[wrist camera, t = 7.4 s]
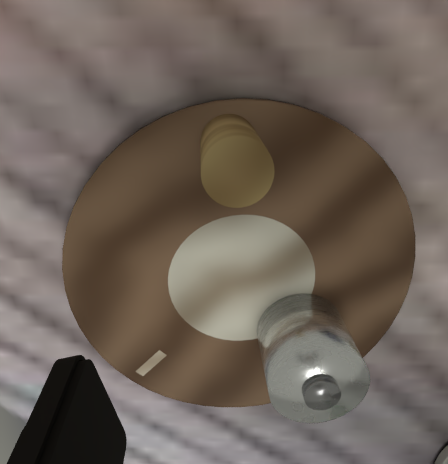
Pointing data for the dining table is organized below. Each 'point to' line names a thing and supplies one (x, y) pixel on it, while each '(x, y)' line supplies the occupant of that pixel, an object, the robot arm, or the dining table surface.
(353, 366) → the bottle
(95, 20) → the dining table surface
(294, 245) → the turntable
